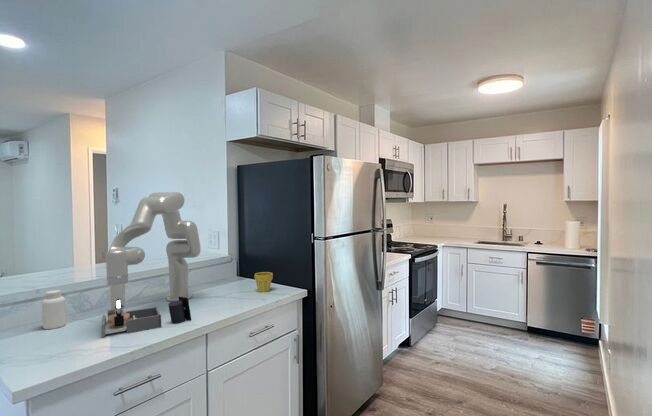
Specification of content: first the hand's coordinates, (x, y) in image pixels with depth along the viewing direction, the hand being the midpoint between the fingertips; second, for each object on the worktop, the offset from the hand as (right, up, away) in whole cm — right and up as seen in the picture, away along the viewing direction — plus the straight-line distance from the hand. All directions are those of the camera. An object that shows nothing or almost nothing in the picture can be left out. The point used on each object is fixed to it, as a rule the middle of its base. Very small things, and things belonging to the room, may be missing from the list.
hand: (119, 322), depth 145 cm
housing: (+7, -2, +4) cm, 9 cm away
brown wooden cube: (-7, -3, +9) cm, 12 cm away
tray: (+1, -3, +1) cm, 3 cm away
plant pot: (+49, -1, +59) cm, 77 cm away
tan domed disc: (0, +1, 0) cm, 1 cm away
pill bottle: (-31, -4, +6) cm, 32 cm away
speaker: (+21, -2, +8) cm, 23 cm away
